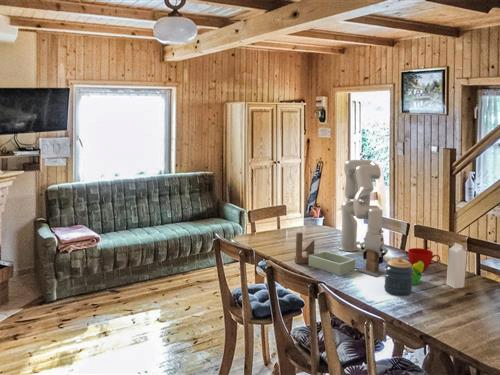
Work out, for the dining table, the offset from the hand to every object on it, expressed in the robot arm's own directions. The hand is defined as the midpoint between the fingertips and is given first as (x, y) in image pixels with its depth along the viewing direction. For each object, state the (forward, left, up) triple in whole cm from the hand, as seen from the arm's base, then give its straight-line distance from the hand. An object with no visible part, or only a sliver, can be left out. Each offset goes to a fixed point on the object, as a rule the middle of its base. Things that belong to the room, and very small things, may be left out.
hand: (372, 261), depth 252 cm
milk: (-13, +40, -6) cm, 42 cm away
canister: (+16, +25, -6) cm, 30 cm away
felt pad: (0, 0, -6) cm, 6 cm away
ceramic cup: (-26, +16, -6) cm, 31 cm away
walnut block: (0, 0, -5) cm, 5 cm away
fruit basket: (-3, +23, -6) cm, 24 cm away
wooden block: (+17, -35, -6) cm, 39 cm away
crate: (+12, -19, -6) cm, 23 cm away
